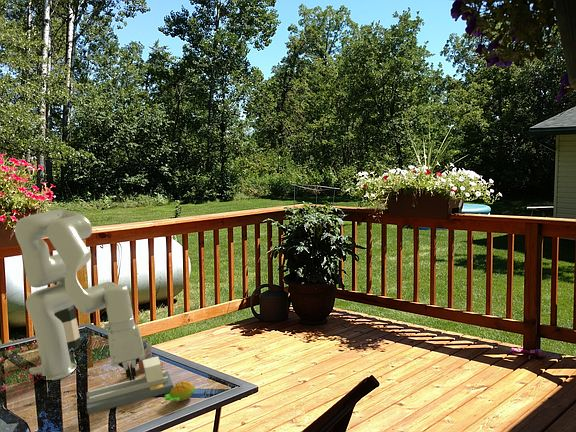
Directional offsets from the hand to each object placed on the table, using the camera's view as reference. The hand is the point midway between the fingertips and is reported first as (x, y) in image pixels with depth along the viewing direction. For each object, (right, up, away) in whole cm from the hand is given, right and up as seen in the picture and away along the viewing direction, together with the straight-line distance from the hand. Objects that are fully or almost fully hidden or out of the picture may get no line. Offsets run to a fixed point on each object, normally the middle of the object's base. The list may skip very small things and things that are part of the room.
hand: (132, 378), depth 175 cm
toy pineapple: (+17, -4, -8) cm, 20 cm away
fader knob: (+7, -1, +3) cm, 7 cm away
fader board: (-1, -5, 0) cm, 5 cm away
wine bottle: (-38, -2, +48) cm, 62 cm away
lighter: (0, -2, +19) cm, 20 cm away
